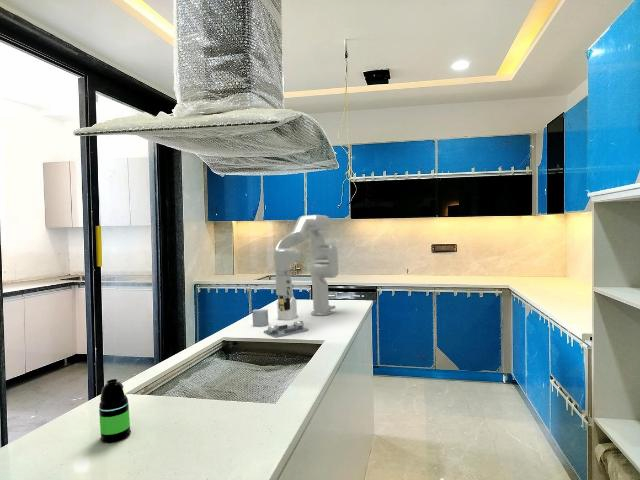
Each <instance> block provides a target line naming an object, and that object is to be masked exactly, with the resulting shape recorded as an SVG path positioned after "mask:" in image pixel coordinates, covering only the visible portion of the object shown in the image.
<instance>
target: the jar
mask: <svg viewBox="0 0 640 480" xmlns="http://www.w3.org/2000/svg"><path fill="white" fill-rule="evenodd" d="M286 296H287V295H286ZM286 298H287V297H286ZM276 304H277V305H276V309H277V319H278V321H292V320H294V319H297V318H298V309H297V298H295V297H294V294H293V295H292V297H291V299H290V309H289V311H280V309H279V301H278V300H277V301H276Z"/></svg>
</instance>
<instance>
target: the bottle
mask: <svg viewBox="0 0 640 480" xmlns="http://www.w3.org/2000/svg"><path fill="white" fill-rule="evenodd" d="M100 393H101V394H100V402H99V407H98V409H99V411H98V412H99V426H100V427H99V428H100V429H99V430H100V441H101V442H102V443H104V444H112V443H113V444H114V443H119V442H121V441H124V440H126V439H127V438H128V437H129V436H130V435H131V433H132V430H131V422H130V421H131V419H130V406H129V405H130V404H129V399H128V397H127V392H126V389H125V386H124V384H122V382H120V381H118V379H117V378H113V379H108V380H107V381H106V384H105V385H104V386H103V387H102V388H101V392H100Z"/></svg>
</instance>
